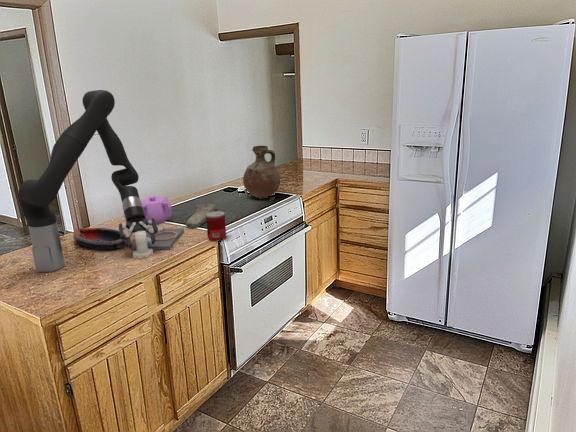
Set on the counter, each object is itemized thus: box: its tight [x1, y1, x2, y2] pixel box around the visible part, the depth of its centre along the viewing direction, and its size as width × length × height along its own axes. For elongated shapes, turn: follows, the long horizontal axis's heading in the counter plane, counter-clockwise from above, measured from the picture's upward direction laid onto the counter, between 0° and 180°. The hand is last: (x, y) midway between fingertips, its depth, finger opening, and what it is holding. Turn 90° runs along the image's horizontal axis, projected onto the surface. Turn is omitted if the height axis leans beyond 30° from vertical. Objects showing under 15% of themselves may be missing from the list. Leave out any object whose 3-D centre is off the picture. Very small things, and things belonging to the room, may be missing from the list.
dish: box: [73, 227, 127, 251], centre depth 187 cm, size 16×31×5 cm, turn 54°
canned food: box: [205, 210, 227, 241], centre depth 188 cm, size 8×8×11 cm
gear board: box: [132, 225, 185, 251], centre depth 188 cm, size 23×15×4 cm, turn 178°
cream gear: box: [132, 231, 154, 260], centre depth 171 cm, size 8×8×10 cm
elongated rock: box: [185, 203, 217, 229], centre depth 220 cm, size 35×5×10 cm
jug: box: [242, 145, 281, 199], centre depth 253 cm, size 22×22×30 cm
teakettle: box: [140, 195, 173, 225], centre depth 217 cm, size 17×17×12 cm
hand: (142, 244), depth 170 cm, fingers open, 8 cm apart
